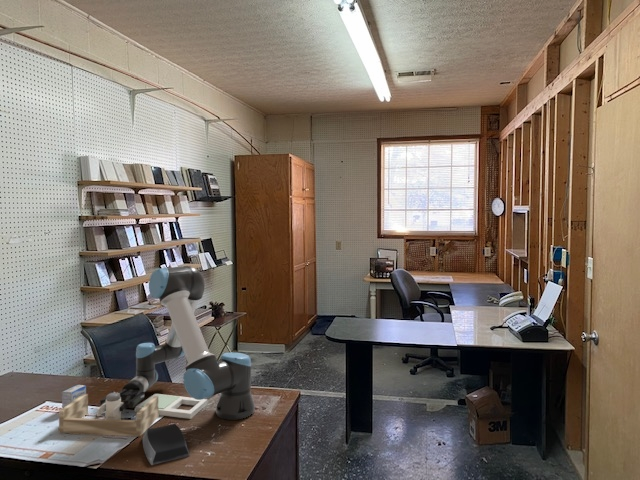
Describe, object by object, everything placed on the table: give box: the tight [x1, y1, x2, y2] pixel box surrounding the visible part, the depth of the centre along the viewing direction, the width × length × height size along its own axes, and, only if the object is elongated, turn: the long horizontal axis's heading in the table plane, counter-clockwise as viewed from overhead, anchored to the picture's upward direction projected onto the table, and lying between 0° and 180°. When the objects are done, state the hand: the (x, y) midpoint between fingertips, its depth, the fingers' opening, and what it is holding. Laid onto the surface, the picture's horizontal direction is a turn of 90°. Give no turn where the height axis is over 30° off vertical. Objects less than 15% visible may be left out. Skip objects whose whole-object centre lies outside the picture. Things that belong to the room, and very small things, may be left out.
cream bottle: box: [105, 392, 122, 420], centre depth 163 cm, size 5×5×10 cm
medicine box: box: [61, 384, 87, 409], centre depth 174 cm, size 8×4×9 cm, turn 168°
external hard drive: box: [142, 423, 190, 466], centre depth 147 cm, size 13×19×4 cm
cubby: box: [58, 393, 159, 437], centre depth 162 cm, size 16×29×8 cm, turn 88°
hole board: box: [134, 393, 209, 420], centre depth 177 cm, size 24×14×2 cm, turn 78°
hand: (106, 412), depth 158 cm, fingers closed on cream bottle, 5 cm apart
